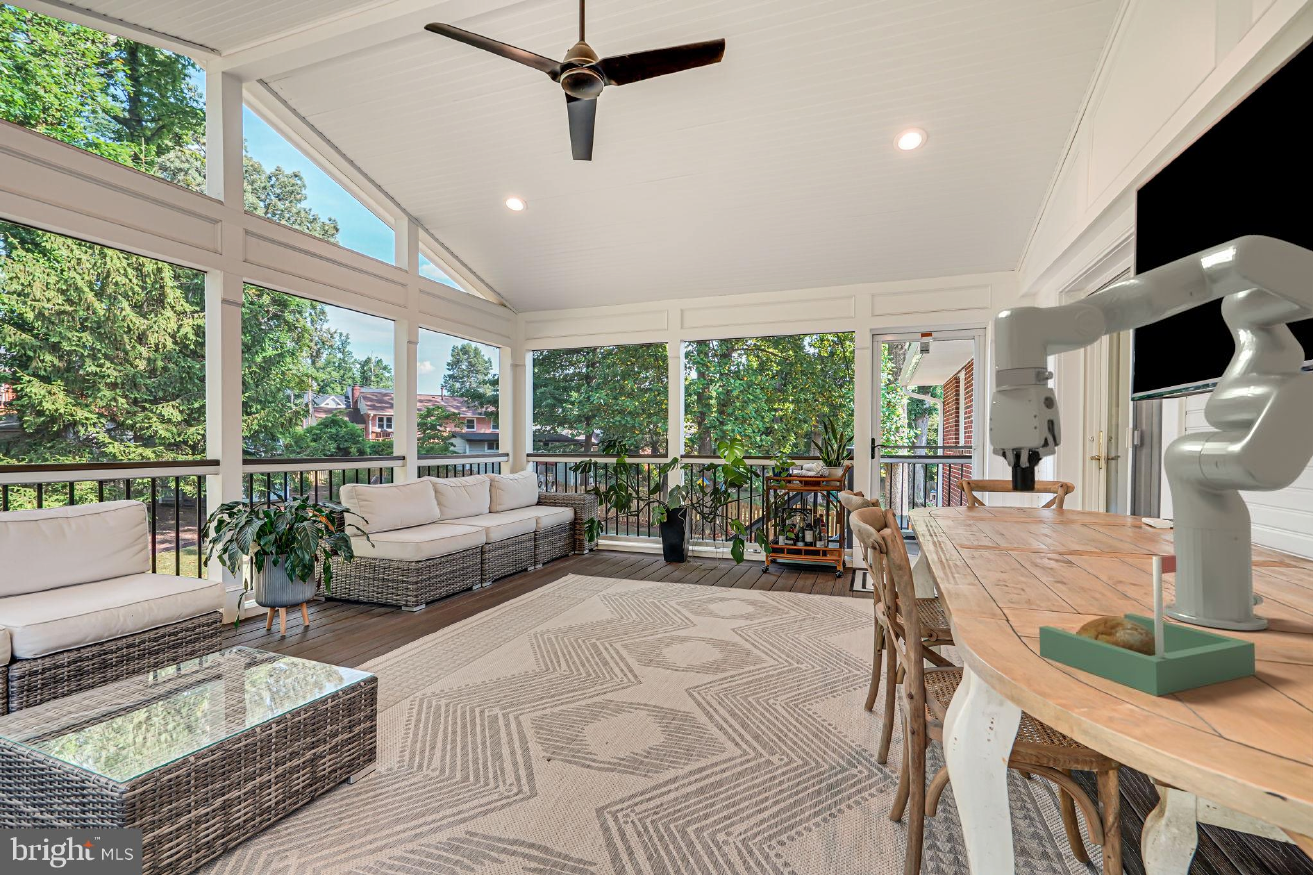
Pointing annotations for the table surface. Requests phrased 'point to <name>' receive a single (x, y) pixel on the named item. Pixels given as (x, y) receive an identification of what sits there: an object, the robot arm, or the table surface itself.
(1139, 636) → the bread roll
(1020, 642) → the table surface
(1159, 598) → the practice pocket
